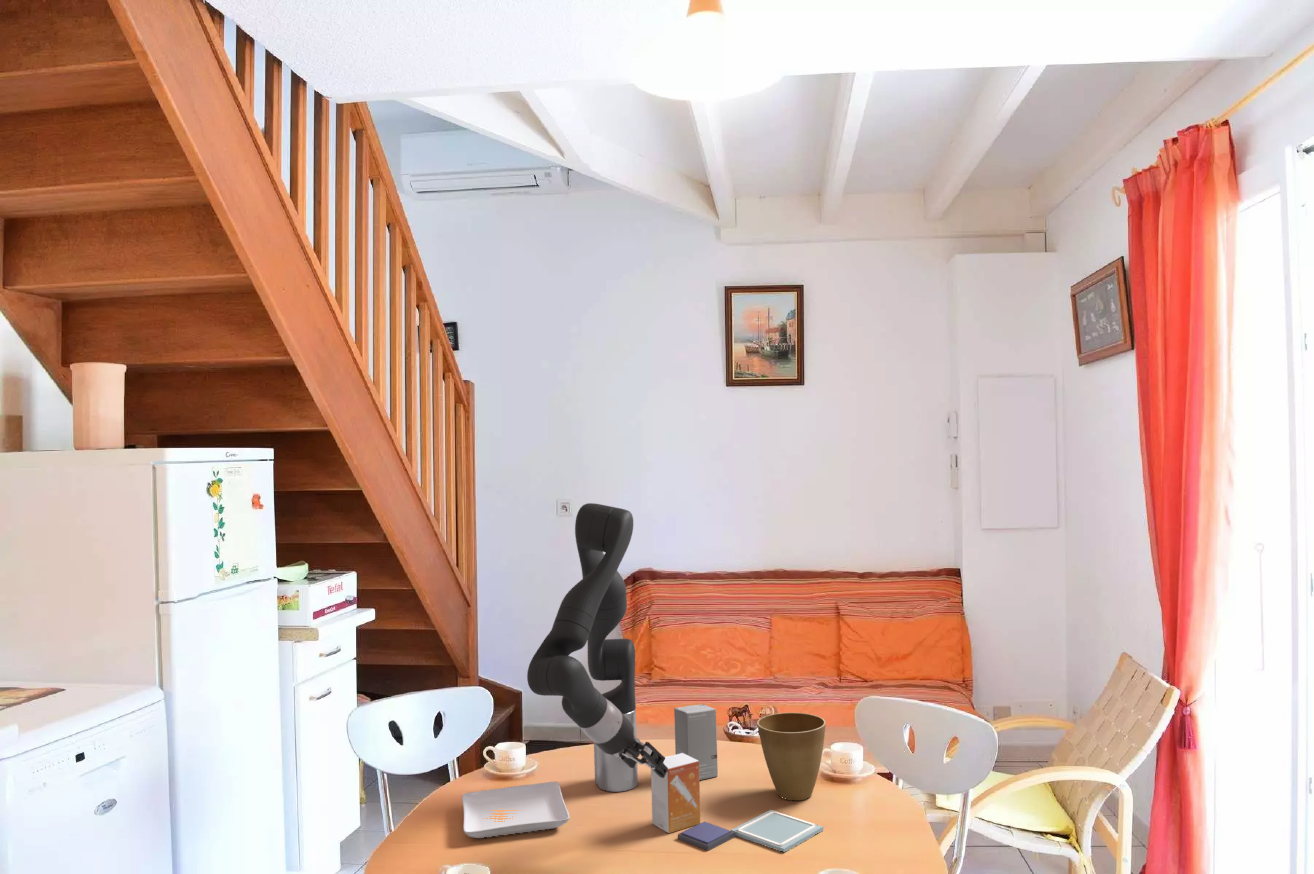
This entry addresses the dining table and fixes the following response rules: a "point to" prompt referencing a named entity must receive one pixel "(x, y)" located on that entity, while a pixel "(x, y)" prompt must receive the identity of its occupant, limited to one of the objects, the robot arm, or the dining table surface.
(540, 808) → the salad plate
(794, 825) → the board
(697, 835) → the ink pad
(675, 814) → the small box
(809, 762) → the plant pot
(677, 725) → the skincare box
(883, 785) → the dining table surface
